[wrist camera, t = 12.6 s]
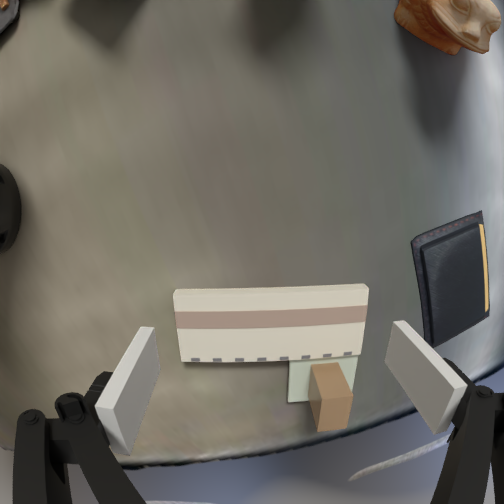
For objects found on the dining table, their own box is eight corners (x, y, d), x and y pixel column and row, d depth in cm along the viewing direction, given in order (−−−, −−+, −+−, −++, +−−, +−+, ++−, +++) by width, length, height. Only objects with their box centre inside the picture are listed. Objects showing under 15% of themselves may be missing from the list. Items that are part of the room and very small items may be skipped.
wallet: (413, 238, 38) (488, 209, 37) (407, 236, 40) (481, 208, 39) (426, 356, 42) (492, 320, 42) (421, 350, 44) (487, 316, 43)
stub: (287, 398, 45) (294, 438, 36) (289, 356, 43) (298, 395, 34) (349, 392, 45) (365, 429, 36) (356, 350, 43) (376, 386, 34)
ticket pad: (184, 354, 43) (181, 361, 41) (176, 289, 40) (172, 294, 38) (356, 347, 43) (360, 354, 41) (363, 283, 41) (369, 288, 38)
